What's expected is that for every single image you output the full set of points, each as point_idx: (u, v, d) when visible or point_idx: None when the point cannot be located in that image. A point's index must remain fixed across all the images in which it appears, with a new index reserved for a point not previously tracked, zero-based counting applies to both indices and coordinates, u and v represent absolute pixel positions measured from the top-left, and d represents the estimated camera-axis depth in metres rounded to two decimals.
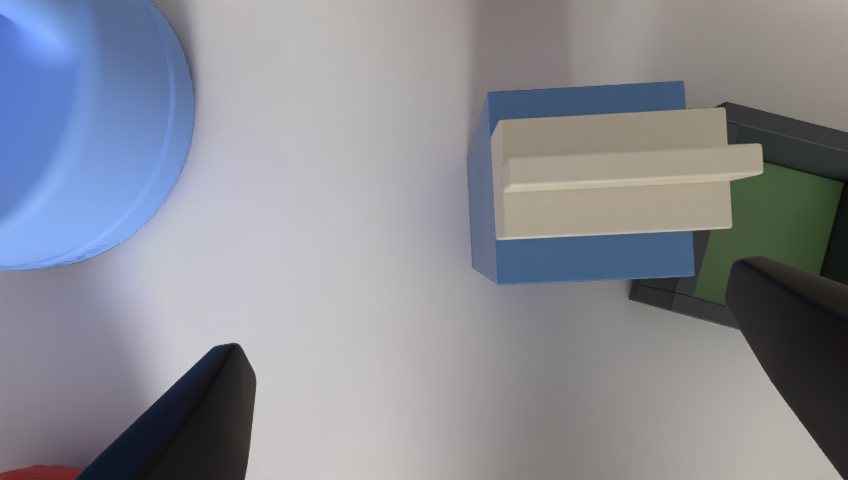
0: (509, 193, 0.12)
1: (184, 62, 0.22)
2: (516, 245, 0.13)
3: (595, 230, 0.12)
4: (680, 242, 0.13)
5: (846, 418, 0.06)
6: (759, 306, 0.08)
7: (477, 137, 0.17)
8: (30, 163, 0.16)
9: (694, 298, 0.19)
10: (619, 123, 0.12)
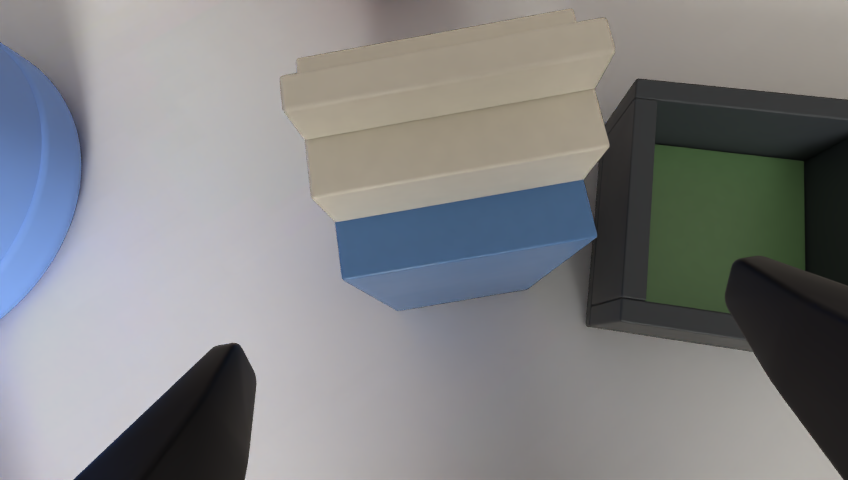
0: (312, 140, 0.09)
1: (68, 124, 0.21)
2: (362, 227, 0.10)
3: (428, 172, 0.09)
4: (570, 196, 0.10)
5: (846, 418, 0.06)
6: (759, 306, 0.08)
7: None
8: None
9: (647, 302, 0.15)
10: (443, 42, 0.09)
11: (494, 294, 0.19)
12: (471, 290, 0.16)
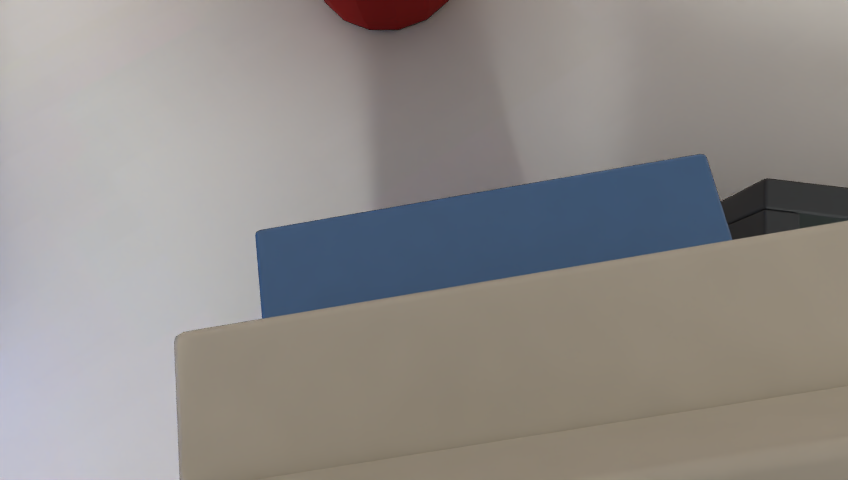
0: None
1: None
2: None
3: None
4: None
5: None
6: None
7: None
8: None
9: None
10: (548, 306, 0.04)
11: None
12: None
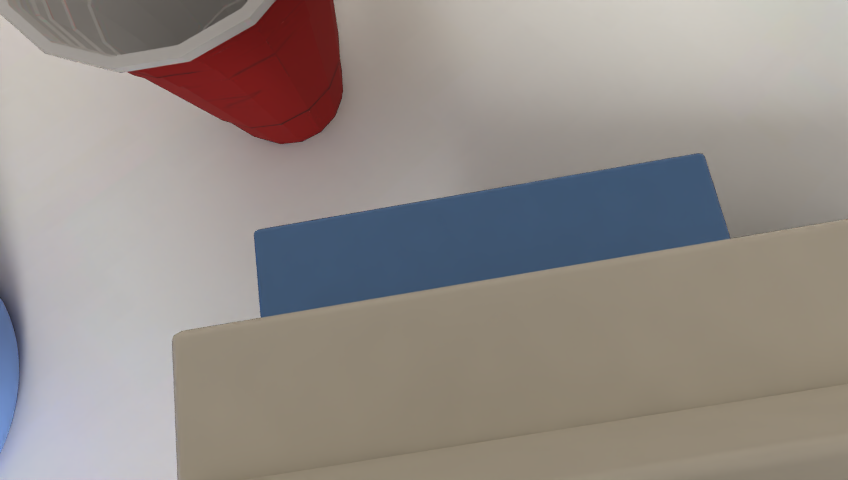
0: None
1: (0, 317, 0.22)
2: None
3: None
4: None
5: None
6: None
7: None
8: None
9: None
10: (545, 304, 0.04)
11: None
12: None
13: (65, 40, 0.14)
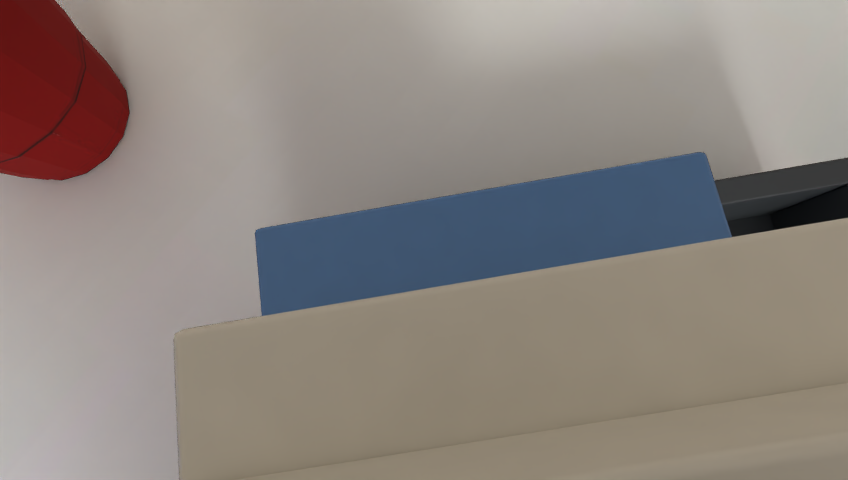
0: None
1: None
2: None
3: None
4: None
5: None
6: None
7: None
8: None
9: None
10: (547, 303, 0.04)
11: None
12: None
13: None
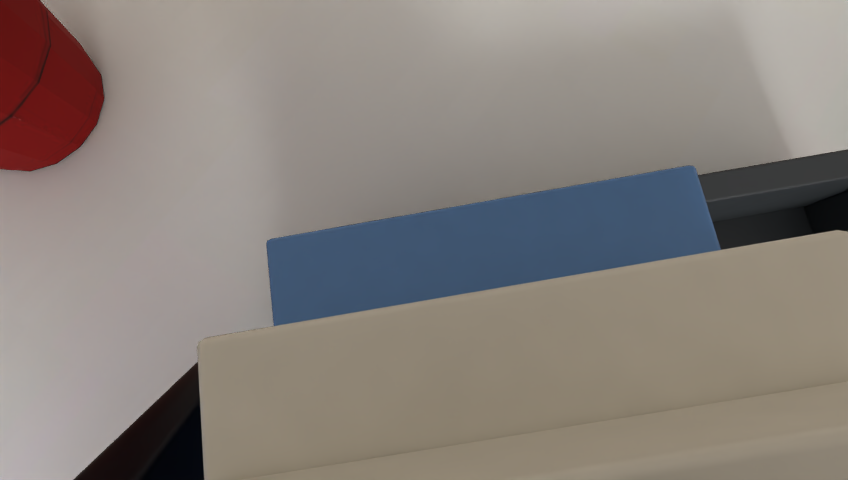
0: None
1: None
2: None
3: None
4: None
5: None
6: None
7: None
8: None
9: None
10: (543, 313, 0.04)
11: None
12: None
13: None
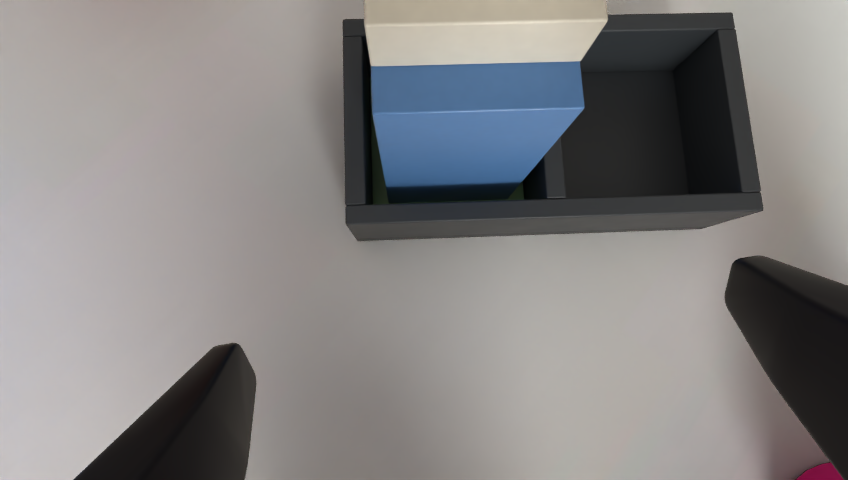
0: None
1: None
2: (393, 74, 0.12)
3: (463, 18, 0.11)
4: (567, 73, 0.12)
5: (846, 418, 0.06)
6: (759, 306, 0.08)
7: None
8: None
9: (366, 205, 0.18)
10: None
11: (477, 199, 0.22)
12: (462, 181, 0.19)
13: None
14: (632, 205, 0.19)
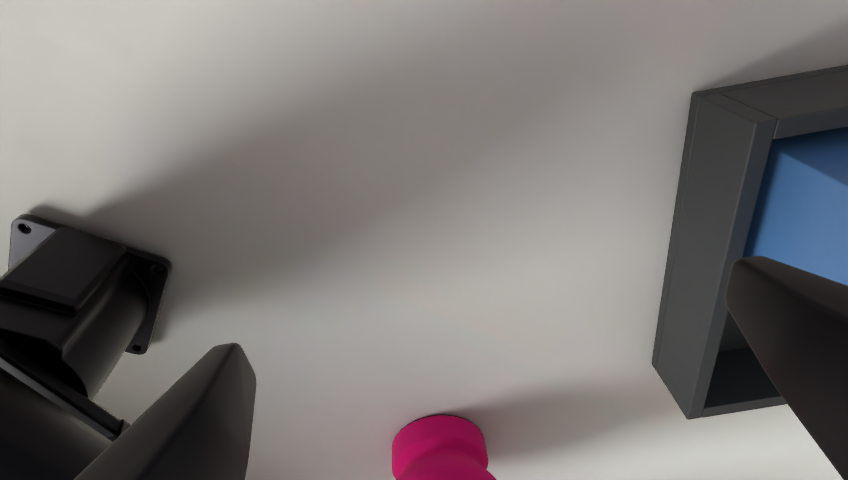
0: None
1: None
2: None
3: None
4: None
5: (846, 418, 0.06)
6: (759, 306, 0.08)
7: None
8: None
9: (770, 141, 0.17)
10: None
11: None
12: (770, 227, 0.19)
13: None
14: (711, 349, 0.22)
